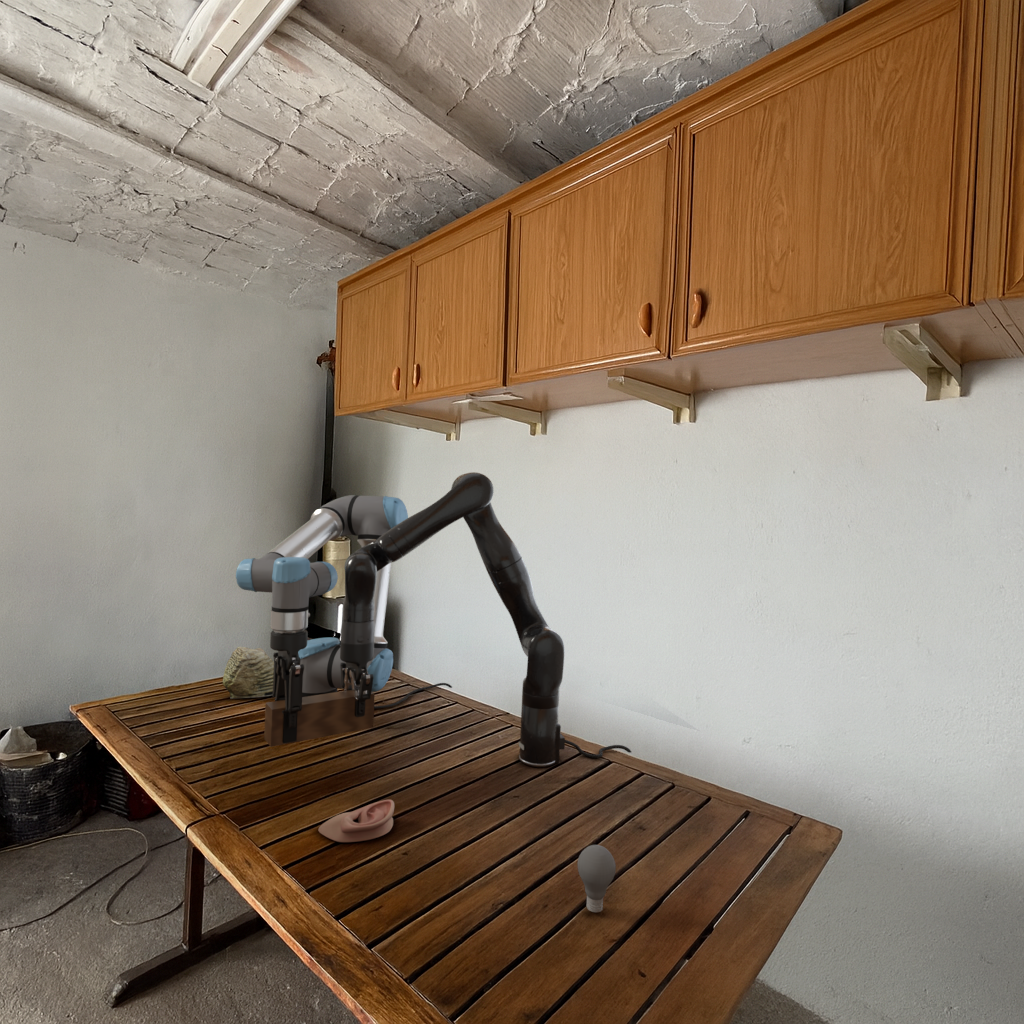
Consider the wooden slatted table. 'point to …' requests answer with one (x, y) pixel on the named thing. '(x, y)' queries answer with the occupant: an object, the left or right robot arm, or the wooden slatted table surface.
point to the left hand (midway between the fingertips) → (285, 736)
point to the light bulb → (596, 874)
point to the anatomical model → (360, 823)
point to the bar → (319, 717)
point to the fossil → (249, 673)
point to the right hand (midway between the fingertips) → (354, 712)
